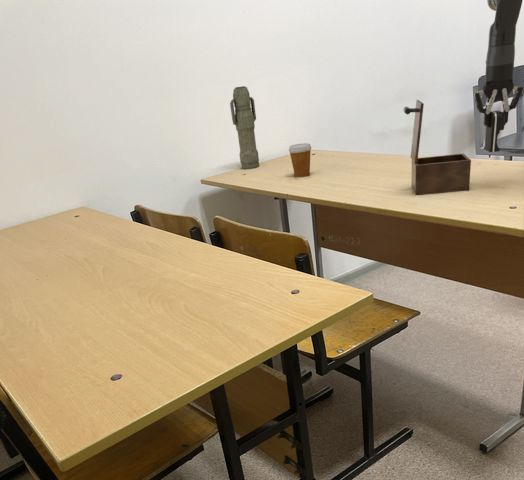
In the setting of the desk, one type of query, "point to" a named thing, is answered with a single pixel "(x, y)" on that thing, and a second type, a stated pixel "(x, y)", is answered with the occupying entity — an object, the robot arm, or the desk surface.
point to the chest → (441, 174)
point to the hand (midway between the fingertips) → (495, 125)
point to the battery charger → (494, 130)
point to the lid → (416, 128)
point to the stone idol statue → (245, 126)
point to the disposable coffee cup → (300, 159)
